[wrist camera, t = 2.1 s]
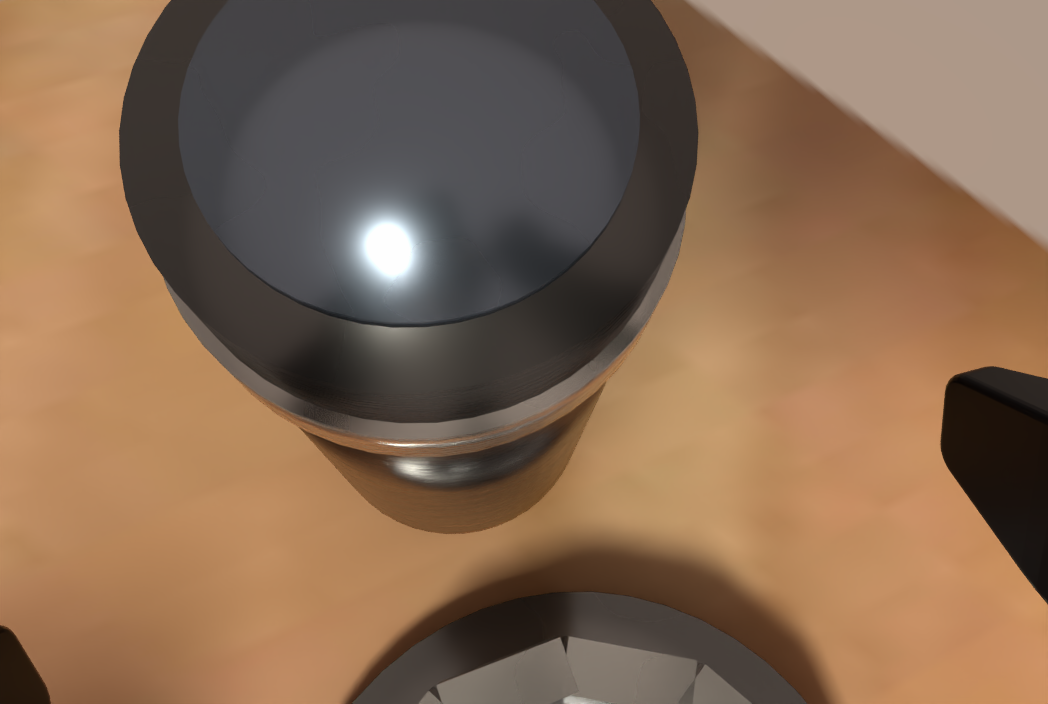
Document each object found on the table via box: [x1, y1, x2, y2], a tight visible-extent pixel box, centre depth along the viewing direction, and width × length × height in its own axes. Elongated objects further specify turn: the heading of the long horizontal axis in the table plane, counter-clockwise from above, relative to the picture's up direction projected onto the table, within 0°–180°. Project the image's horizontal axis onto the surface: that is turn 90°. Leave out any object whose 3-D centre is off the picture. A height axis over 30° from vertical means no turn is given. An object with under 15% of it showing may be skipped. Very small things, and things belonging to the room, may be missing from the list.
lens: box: [119, 0, 698, 534], centre depth 14 cm, size 6×6×12 cm
